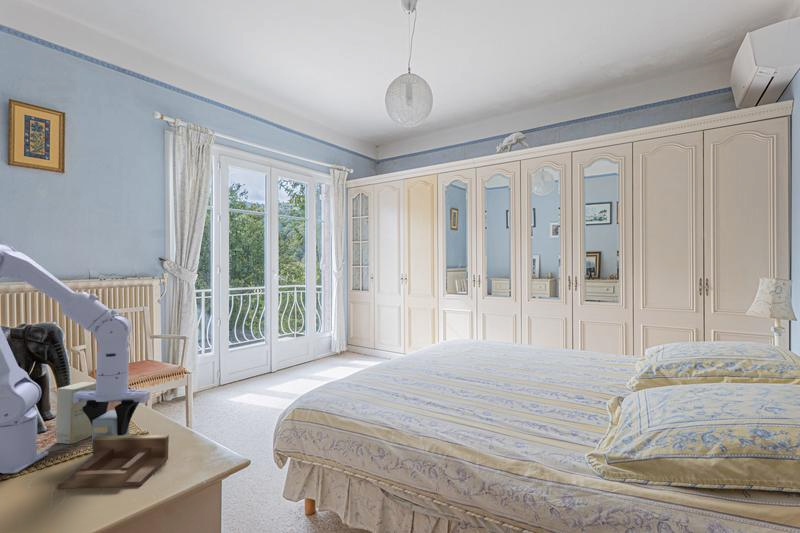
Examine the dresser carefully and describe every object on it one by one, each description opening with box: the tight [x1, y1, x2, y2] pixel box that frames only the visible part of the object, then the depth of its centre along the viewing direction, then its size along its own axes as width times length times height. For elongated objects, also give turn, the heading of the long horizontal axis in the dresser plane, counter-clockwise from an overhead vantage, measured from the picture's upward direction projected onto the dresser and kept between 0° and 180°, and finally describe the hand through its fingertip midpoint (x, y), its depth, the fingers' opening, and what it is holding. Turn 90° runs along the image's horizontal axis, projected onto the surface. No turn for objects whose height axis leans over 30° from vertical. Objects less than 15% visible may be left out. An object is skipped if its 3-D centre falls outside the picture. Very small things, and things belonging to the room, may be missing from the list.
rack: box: [57, 434, 170, 489], centre depth 78 cm, size 14×10×5 cm
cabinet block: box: [91, 410, 130, 450], centre depth 87 cm, size 4×7×6 cm, turn 5°
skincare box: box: [55, 381, 96, 445], centre depth 92 cm, size 6×4×12 cm
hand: (111, 435), depth 87 cm, fingers closed on cabinet block, 4 cm apart
